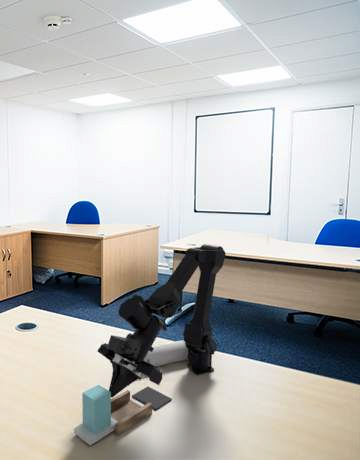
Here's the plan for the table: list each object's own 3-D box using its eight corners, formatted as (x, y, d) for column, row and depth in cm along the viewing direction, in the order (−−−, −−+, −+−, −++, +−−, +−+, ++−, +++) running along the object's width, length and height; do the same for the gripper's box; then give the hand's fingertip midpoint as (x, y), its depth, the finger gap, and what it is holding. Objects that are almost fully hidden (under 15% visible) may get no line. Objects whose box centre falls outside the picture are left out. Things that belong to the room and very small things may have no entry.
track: (127, 398, 94) (127, 390, 93) (152, 413, 88) (152, 403, 88) (93, 418, 85) (93, 408, 85) (118, 435, 79) (118, 425, 79)
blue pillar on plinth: (102, 416, 86) (102, 380, 85) (118, 427, 82) (118, 389, 81) (74, 433, 79) (73, 394, 78) (90, 445, 76) (89, 405, 75)
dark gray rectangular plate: (147, 387, 99) (147, 386, 99) (171, 400, 94) (171, 398, 94) (132, 396, 95) (132, 395, 95) (156, 410, 89) (156, 408, 89)
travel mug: (141, 368, 105) (199, 355, 114) (136, 346, 108) (193, 336, 117) (135, 373, 110) (191, 361, 119) (131, 352, 113) (186, 342, 122)
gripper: (102, 313, 91) (65, 369, 84) (154, 332, 79) (116, 400, 72) (126, 333, 98) (93, 386, 91) (176, 353, 86) (144, 417, 79)
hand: (109, 396), depth 83 cm, fingers closed
